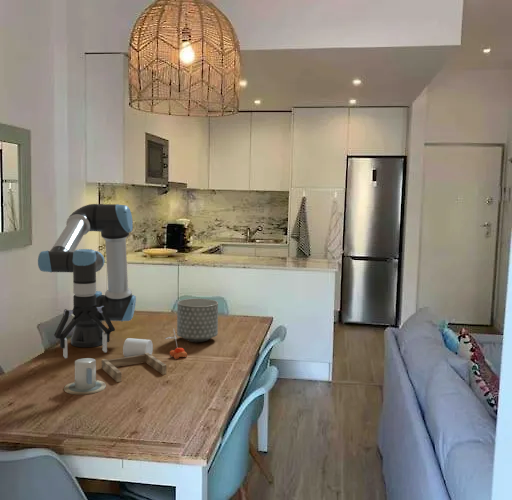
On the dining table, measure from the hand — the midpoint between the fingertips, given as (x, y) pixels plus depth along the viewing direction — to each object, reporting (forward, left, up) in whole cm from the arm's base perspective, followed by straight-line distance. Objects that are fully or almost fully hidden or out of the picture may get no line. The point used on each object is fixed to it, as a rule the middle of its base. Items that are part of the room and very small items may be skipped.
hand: (85, 354), depth 188 cm
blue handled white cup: (+1, 0, -11) cm, 11 cm away
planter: (-38, +63, -12) cm, 74 cm away
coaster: (0, 0, -12) cm, 12 cm away
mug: (-26, +30, -12) cm, 41 cm away
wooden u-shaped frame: (-9, +21, -12) cm, 26 cm away
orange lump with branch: (-18, +43, -12) cm, 48 cm away
